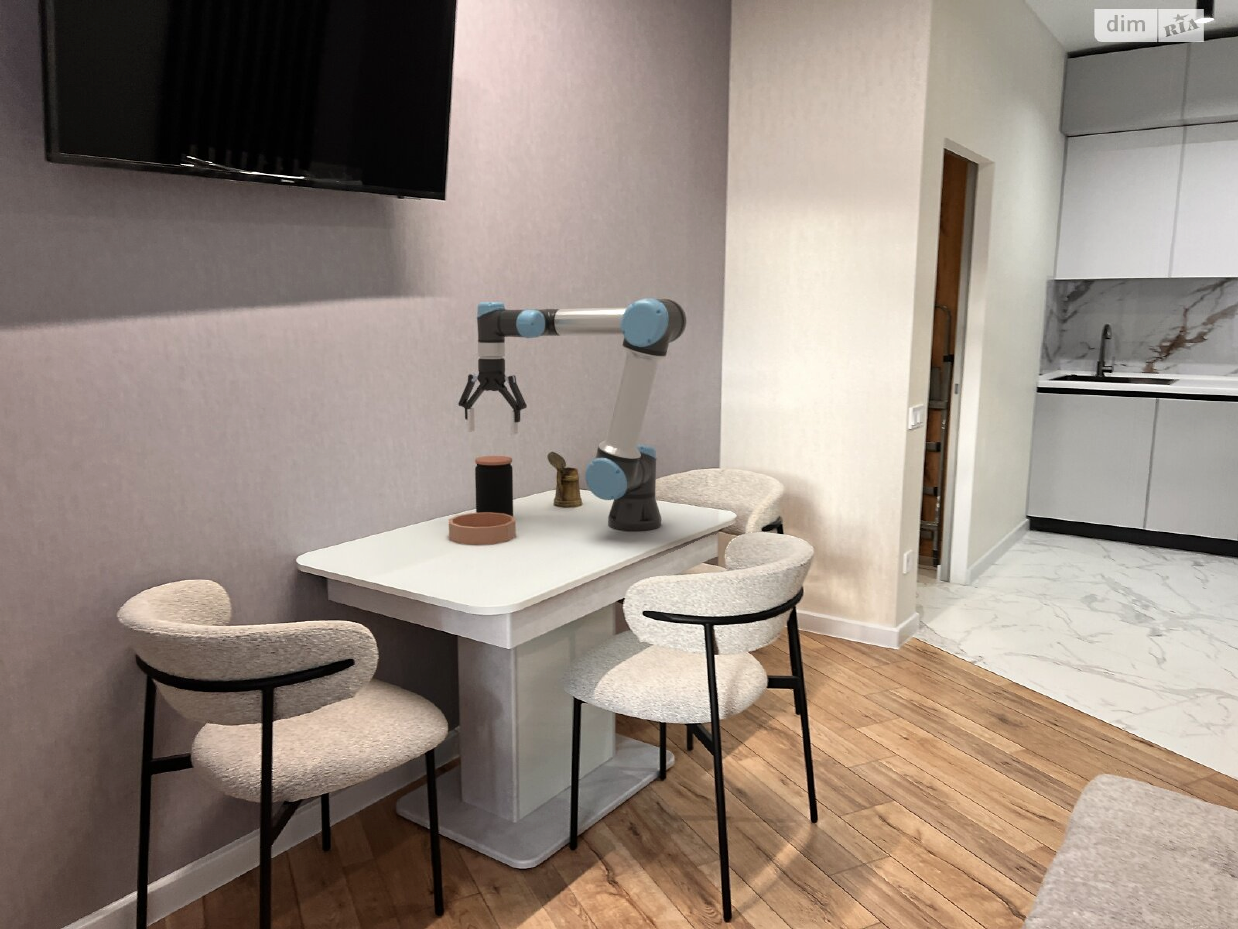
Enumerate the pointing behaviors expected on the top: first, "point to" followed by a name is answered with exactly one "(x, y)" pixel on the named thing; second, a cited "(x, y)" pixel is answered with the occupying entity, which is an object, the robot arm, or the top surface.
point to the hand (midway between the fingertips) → (492, 432)
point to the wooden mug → (565, 483)
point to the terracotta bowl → (482, 528)
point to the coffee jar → (494, 484)
